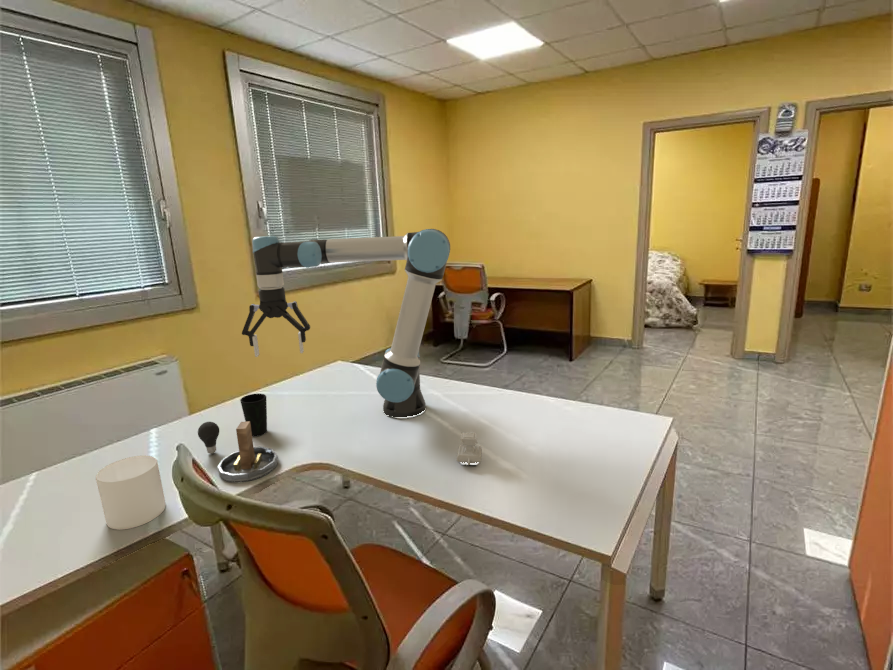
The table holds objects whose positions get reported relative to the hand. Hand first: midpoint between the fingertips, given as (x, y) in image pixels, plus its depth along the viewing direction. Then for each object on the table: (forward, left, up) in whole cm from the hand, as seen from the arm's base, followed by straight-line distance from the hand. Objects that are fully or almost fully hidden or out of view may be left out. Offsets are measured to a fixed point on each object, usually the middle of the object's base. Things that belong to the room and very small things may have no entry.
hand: (279, 354), depth 144 cm
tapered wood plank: (+6, +25, -24) cm, 35 cm away
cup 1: (+27, +42, -26) cm, 56 cm away
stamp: (-55, +33, -26) cm, 69 cm away
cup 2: (+9, +3, -26) cm, 27 cm away
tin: (+6, +25, -25) cm, 36 cm away
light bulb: (+19, +15, -26) cm, 35 cm away
